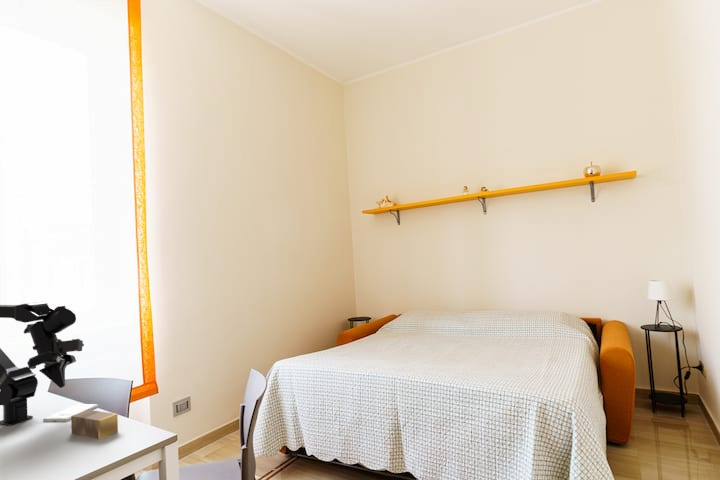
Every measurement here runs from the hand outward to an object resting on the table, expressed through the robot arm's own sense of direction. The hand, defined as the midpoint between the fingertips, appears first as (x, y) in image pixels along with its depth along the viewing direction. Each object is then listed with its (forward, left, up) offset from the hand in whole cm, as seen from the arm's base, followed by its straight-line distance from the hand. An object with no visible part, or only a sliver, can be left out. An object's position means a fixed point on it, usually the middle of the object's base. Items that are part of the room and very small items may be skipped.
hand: (62, 387), depth 125 cm
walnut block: (+11, -2, -8) cm, 14 cm away
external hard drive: (-6, +6, -12) cm, 14 cm away
